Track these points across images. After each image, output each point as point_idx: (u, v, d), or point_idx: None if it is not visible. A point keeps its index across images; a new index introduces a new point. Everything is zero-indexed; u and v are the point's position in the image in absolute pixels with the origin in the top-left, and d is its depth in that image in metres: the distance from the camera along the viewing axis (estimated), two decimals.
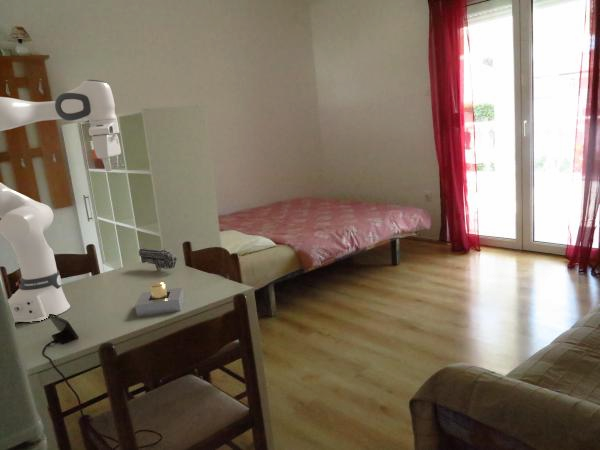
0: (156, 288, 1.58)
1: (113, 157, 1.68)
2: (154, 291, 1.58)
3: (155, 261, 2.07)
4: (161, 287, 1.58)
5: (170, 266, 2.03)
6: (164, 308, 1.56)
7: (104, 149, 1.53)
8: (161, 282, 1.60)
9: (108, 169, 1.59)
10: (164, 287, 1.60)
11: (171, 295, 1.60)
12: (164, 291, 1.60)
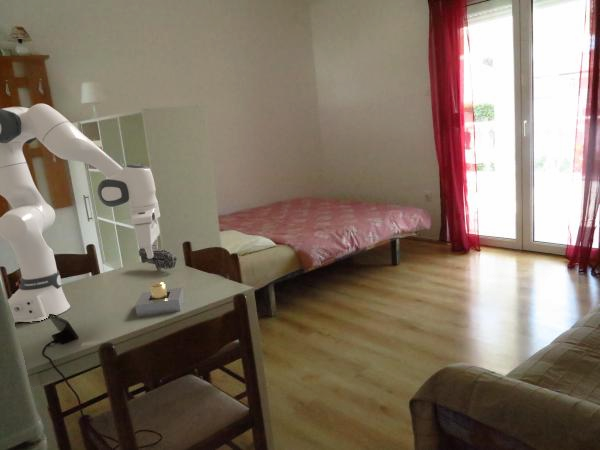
0: (156, 288, 1.58)
1: None
2: (154, 291, 1.58)
3: (155, 261, 2.07)
4: (161, 287, 1.58)
5: (170, 266, 2.03)
6: (164, 308, 1.56)
7: (147, 238, 1.47)
8: (161, 282, 1.60)
9: (150, 256, 1.52)
10: (164, 287, 1.60)
11: (171, 295, 1.60)
12: (164, 291, 1.60)
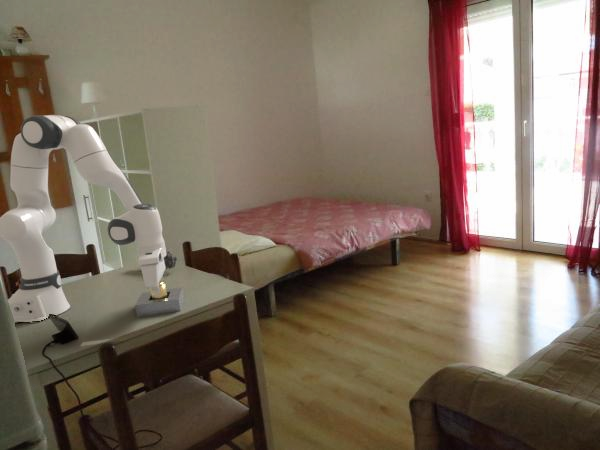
0: None
1: None
2: None
3: None
4: (161, 287, 1.58)
5: (170, 266, 2.03)
6: (164, 308, 1.56)
7: (154, 279, 1.50)
8: (161, 282, 1.60)
9: (157, 293, 1.57)
10: (164, 287, 1.60)
11: (171, 295, 1.60)
12: (164, 291, 1.60)
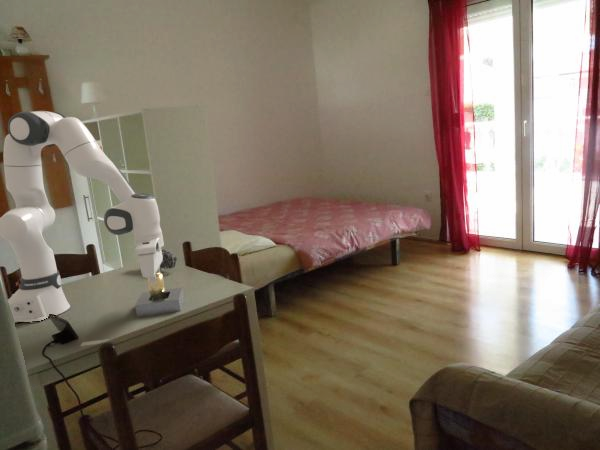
0: None
1: None
2: None
3: None
4: (158, 277, 1.58)
5: (170, 266, 2.03)
6: (164, 308, 1.56)
7: (151, 269, 1.49)
8: (158, 272, 1.60)
9: (154, 283, 1.56)
10: (161, 277, 1.59)
11: (171, 295, 1.60)
12: (161, 281, 1.59)
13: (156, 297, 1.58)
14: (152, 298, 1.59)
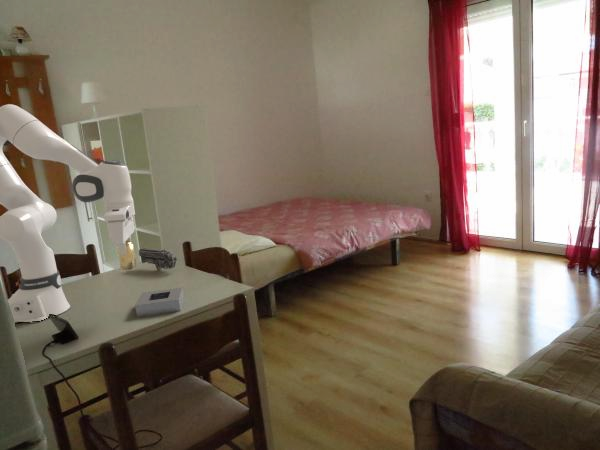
0: None
1: None
2: None
3: (155, 261, 2.07)
4: (128, 246, 1.55)
5: (170, 266, 2.03)
6: (164, 308, 1.56)
7: (120, 236, 1.46)
8: (129, 242, 1.57)
9: (123, 253, 1.53)
10: (132, 247, 1.56)
11: (171, 295, 1.60)
12: (131, 251, 1.56)
13: (126, 267, 1.55)
14: (122, 268, 1.56)
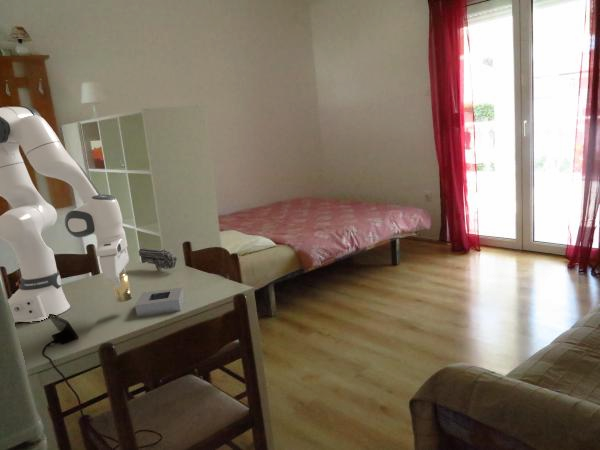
0: None
1: None
2: None
3: (155, 261, 2.07)
4: (122, 279, 1.56)
5: (170, 266, 2.03)
6: (164, 308, 1.56)
7: (112, 270, 1.47)
8: (123, 274, 1.58)
9: (117, 285, 1.54)
10: (126, 279, 1.57)
11: (171, 295, 1.60)
12: (126, 283, 1.57)
13: (121, 299, 1.57)
14: (117, 300, 1.57)
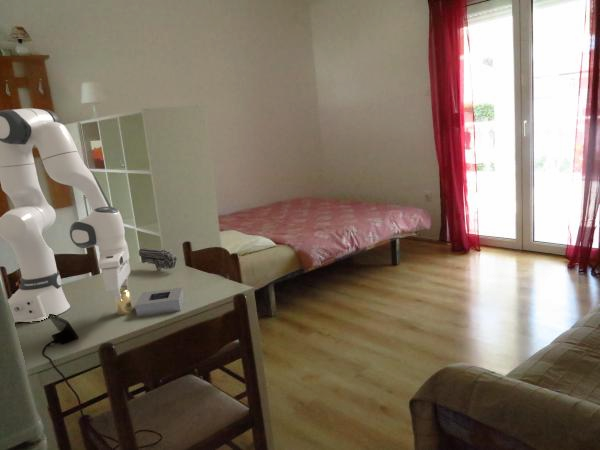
0: None
1: None
2: None
3: (155, 261, 2.07)
4: (124, 295, 1.57)
5: (170, 266, 2.03)
6: (164, 308, 1.56)
7: (114, 283, 1.48)
8: (125, 290, 1.59)
9: (118, 299, 1.54)
10: (128, 295, 1.58)
11: (171, 295, 1.60)
12: (128, 299, 1.58)
13: None
14: None
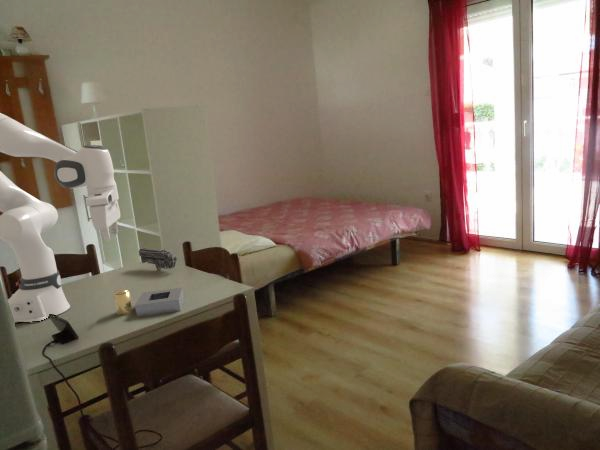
0: (119, 296, 1.57)
1: (112, 222, 1.59)
2: (117, 299, 1.57)
3: (155, 261, 2.07)
4: (124, 295, 1.57)
5: (170, 266, 2.03)
6: (164, 308, 1.56)
7: (103, 220, 1.44)
8: (125, 290, 1.59)
9: (107, 239, 1.49)
10: (128, 295, 1.58)
11: (171, 295, 1.60)
12: (128, 299, 1.58)
13: None
14: None
